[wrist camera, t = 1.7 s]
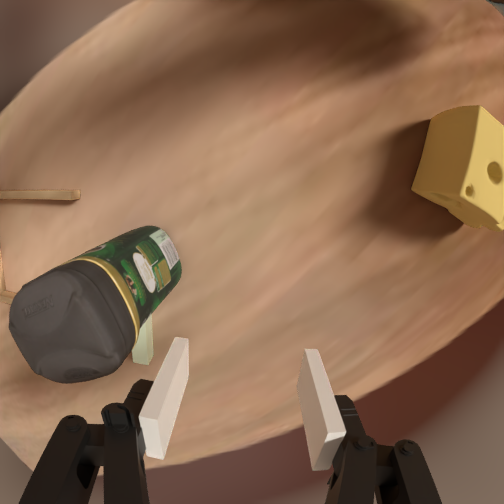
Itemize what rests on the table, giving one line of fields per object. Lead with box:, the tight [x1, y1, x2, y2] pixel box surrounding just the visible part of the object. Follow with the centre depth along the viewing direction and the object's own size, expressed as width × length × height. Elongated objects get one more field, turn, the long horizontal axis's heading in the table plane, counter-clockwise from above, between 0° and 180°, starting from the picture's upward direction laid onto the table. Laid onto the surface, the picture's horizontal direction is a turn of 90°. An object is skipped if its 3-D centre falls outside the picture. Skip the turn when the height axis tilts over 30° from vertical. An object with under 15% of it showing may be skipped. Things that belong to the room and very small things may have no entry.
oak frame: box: [0, 190, 80, 305], centre depth 31 cm, size 16×17×2 cm
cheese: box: [411, 105, 504, 232], centre depth 25 cm, size 10×11×10 cm
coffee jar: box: [9, 226, 182, 384], centre depth 23 cm, size 10×8×19 cm
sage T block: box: [132, 314, 154, 365], centre depth 33 cm, size 6×6×2 cm
